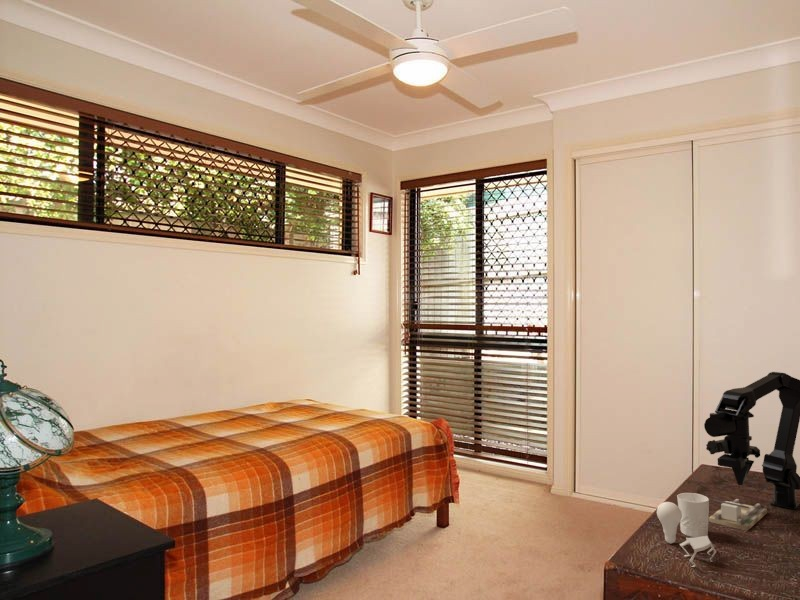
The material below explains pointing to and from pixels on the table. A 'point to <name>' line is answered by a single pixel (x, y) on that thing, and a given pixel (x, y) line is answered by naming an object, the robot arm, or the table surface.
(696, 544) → the origami figure
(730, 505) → the tuning slider
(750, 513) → the board
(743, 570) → the table surface
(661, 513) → the lightbulb
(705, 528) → the white cup
